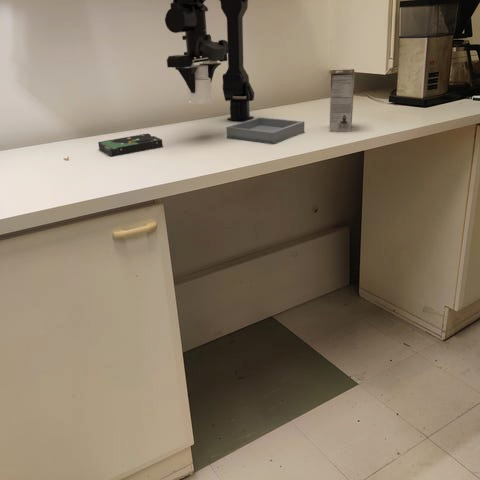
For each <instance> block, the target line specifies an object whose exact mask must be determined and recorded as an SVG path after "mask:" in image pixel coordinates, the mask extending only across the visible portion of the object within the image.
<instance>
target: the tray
mask: <svg viewBox="0 0 480 480" xmlns="http://www.w3.org/2000/svg"><path fill="white" fill-rule="evenodd" d="M303 133H305V121H302V120H290V119H284V118H283V119H282V118H273V117H261V116H259V117H256V118H251V119H248V120H245V121H241V122H239V123H235V124H232V125H229V126H227V127H226V138H227V139H232V140H241V141H247V142H254V143H255V142H256V143H262V144H270V145H274V144H278V143H280V142H283V141H285V140H287V139H290V138H292V137H295V136H297V135H300V134H303Z"/></svg>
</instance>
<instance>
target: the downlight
mask: <svg viewBox="0 0 480 480" xmlns="http://www.w3.org/2000/svg"><path fill="white" fill-rule="evenodd" d="M194 67H198V68H197V70H196V72H195V93H191V91H190V89H189V87H188V86H187V85H186V91H187V93H188V97H189V100H188V103H189V104H191V105H207V104H213V103H214V100H215V93H214V90H213V85H212V82H211V78H208V70H207V69H208V68H207V67H208V65H199V64H194Z"/></svg>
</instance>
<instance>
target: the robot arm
mask: <svg viewBox="0 0 480 480" xmlns="http://www.w3.org/2000/svg"><path fill="white" fill-rule="evenodd" d="M206 1H207V0H172V2H170V4H169V5H170V9H167V12H166V14H165V18H164V21H165V26H166V27H167V29H168V31H170V32H171V33H174V34H177V33H178V34H179V33H184V34H185V35H182V41H185V44H186V45H185V46H186V51H185V52H184V51H183V54H174V55H169V56H167V59H166V66H167V68H174V69H175V70H177V71H178V72H179V74H180V76H181V78H183V81H184V82H185V84H186V87H187V86H188V87H189V91H191V93H195V72H196V70H197V68H198V67H194V65H195V64H196V63H199V64H198V65H208V67H207V68H208V69H207V70H208V78H211V83H213V82H212V81H213V78H214V73H215V71H216V69H217V68H218V67H219V66H220V65H221V64H222V63H221V62H227V65H228V66H227V70H226V71H225V73H223V74H222V93H223V97H224V101H225V102H229V103H230V105H229V112H230V113H229V114H230V115H229V116H230V117H228V118H227V120H228V121H236V122H245V121H248V120H252V119H254V115H253V116H252V115H250V114H251V113H250V102H252V101H254V100H255V91H254V89H253V88H252V86H251V83H250V78H249V77H250V76H249V74H248V73H247V71H246V70H245V68H244V34H243V33H244V32H243V31H244V30H243V26H244V25H243V20H244V19H243V17H244V16H245V13H246V12H247V10H248V6H249V5H248V4H249V0H219V2H220V8H221V10H222V13H223V14H224V17H226V32H227V33H226V35H227V36H226V37H227V40H225V39H220V40H219V39H218V41H212V35H211V34H209V33H207V20H206V19H207V18H206V12H208V11H209V8H208V7H207V6H206V5H205V2H206ZM201 62H202V63H201Z"/></svg>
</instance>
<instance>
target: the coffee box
mask: <svg viewBox="0 0 480 480" xmlns="http://www.w3.org/2000/svg"><path fill="white" fill-rule="evenodd" d="M330 77H331V78H330V100H329V104H330V105H329V106H330V107H329V109H330V110H329V132H351V131H352V124H353V123H352V122H353V110H354V91H355V68H354V69H353V68H351V69H333V70H332V71H331V75H330Z"/></svg>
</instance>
